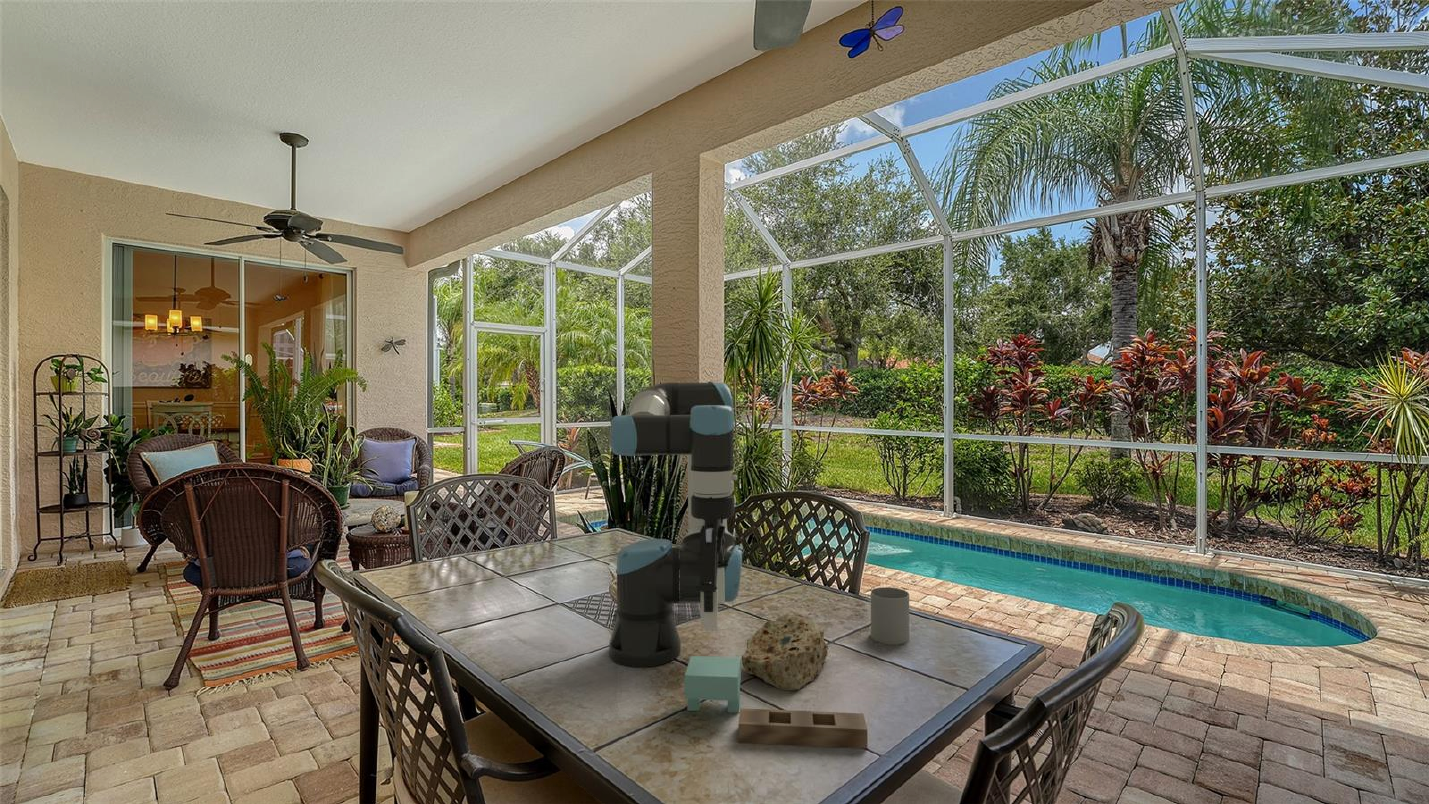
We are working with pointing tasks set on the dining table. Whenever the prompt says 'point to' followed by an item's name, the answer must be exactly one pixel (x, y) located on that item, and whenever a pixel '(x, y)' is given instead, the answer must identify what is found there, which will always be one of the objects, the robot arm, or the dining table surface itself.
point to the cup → (890, 615)
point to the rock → (786, 652)
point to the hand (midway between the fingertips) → (713, 615)
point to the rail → (802, 728)
